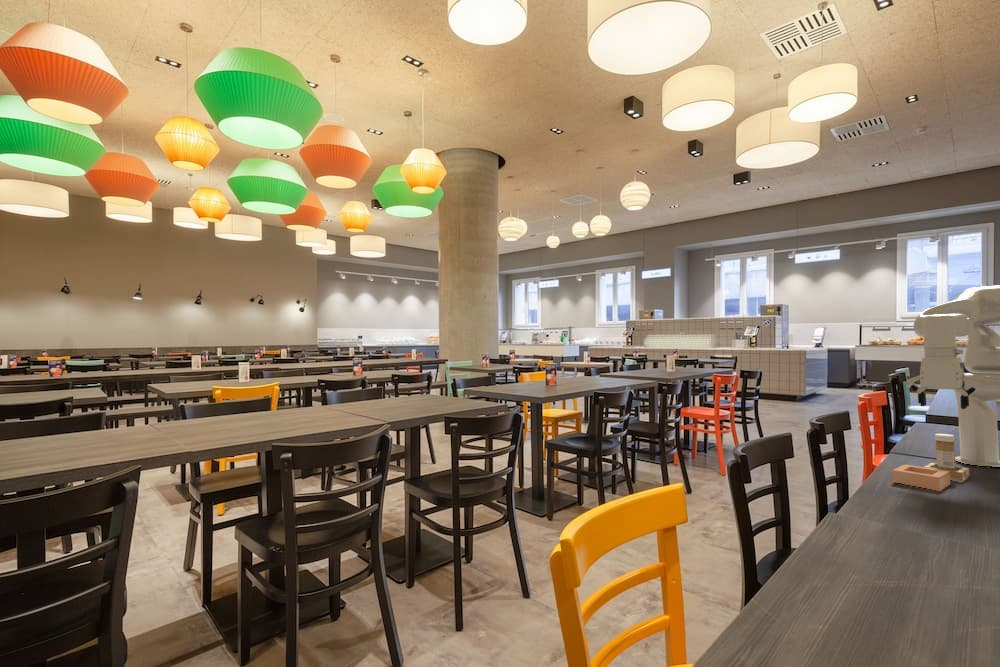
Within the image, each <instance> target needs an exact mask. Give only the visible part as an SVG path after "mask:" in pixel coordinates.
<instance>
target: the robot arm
mask: <svg viewBox="0 0 1000 667" xmlns="http://www.w3.org/2000/svg"><path fill="white" fill-rule="evenodd" d="M988 324H989V325H992V324H1000V285H991V286H981V287H980V286H979V287H978V286H977V287H970V288H966V289H963V290H962V291H961V292H960V293H958V294H957V295H956V297H955V298H953V299H952V300H950V301H948V302H945V303H941V304H939V305H936V306H933V307H929V308H927V309H925V310H923V311H922V312H920V313H919V314H918V316H916V318H915V319H914V323H913V330H914V333H915V334H916V335H917V336H919V337H920V338H923V351H924V357H922V358H921V362H920V369H919V375H916V376H914V377H911V378H908V379H906V382H907V384H908V385H909V387H910V388H911V389H912V390H913V391H914V392H915V393H916V394H917V400H918V401H917V402H918V404H920V407H925V406H927V396H926V393H925V391H926V390H928V389H932V390H933V389H934V390H954V393H955V394H954V395H955V397H956V402H957V412H958V414H957V415H958V434H959V435H958V436H959V453H960V454H959V456H955V460H956V461H958V462H961V463H960V464H962V463H964V464H963V465H966V464H970V465H969V466H971V465H978V466H977V467H979V466H992V467H1000V456H999V455H1000V454H999V453H1000V450H999V433H998V431H999V429H998V416H997V415H998V414H997V413H996V410H995V409H994V408H993V407H992V406H991V405H990V404H989V403H987V402H1000V334H998V333H997V332H996V331H995V330H994V329H992V328H991V327H989V326H987V325H988ZM966 336H967V338H968V339H967V344H966V352H965V354H964V362H963V361H962V358H961V357H958V356H959V355H963V353H964V352H963V349H958V347H957V342H956V340H957V338H961V337H966ZM963 363H964V364H963ZM964 368H965V369H966V371H967V372H964V371H965V370H964ZM917 381H919V384H920V387H918V385H916V384H915V382H917ZM956 461H955V462H956ZM958 462H957V463H958Z"/></svg>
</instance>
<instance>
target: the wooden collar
mask: <svg viewBox="0 0 1000 667" xmlns="http://www.w3.org/2000/svg"><path fill="white" fill-rule="evenodd" d="M923 467H925V468H932V469H938V470H945V469H939V468H937V462H930V463H928V464H926V465H925V466H923ZM955 470H956V471H952V470H945V471H950V480H954V481H953V482H955V481H960V482H959V483H961V482H962V483H964V482H965V481H966V480H965V479H966V478H968V477H969V476H970V477H971V475H970V468H969V467H966V466H960V465H959V466H958V465H956V467H955ZM968 479H969V478H968ZM964 480H965V481H964ZM963 481H964V482H963Z"/></svg>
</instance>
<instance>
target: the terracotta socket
mask: <svg viewBox="0 0 1000 667" xmlns="http://www.w3.org/2000/svg"><path fill="white" fill-rule="evenodd" d="M893 482H897V483H902V484H907V485H912V486H917V487H916V488H918V487H922V488H921V489H923V488H927V489H926V490H929V489H932V490H931V491H934V490H936V492H942V491H943V490H944V489H946V488H947V487H949V486H950V485H951V481H950V471H945V470H938V469H932V468H925V467H924V466H917V465H911V464H910V465H909V464H905V463H904V464H903V465H900V466H898V467H897V468H893V469H892V483H893ZM948 485H949V486H948ZM912 486H911V487H912ZM945 487H946V488H945Z"/></svg>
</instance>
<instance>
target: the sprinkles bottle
mask: <svg viewBox="0 0 1000 667" xmlns="http://www.w3.org/2000/svg"><path fill="white" fill-rule="evenodd" d="M934 440H935V447H936V449H935V454H936V463H937V468H939V469H945V470H952V471H956V470H955V467H956V466H957V465H956V463H957V462H956V461H955V457H956V456H955V455H956V454H955V435H954V434H949V433H936V434H934Z"/></svg>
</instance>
